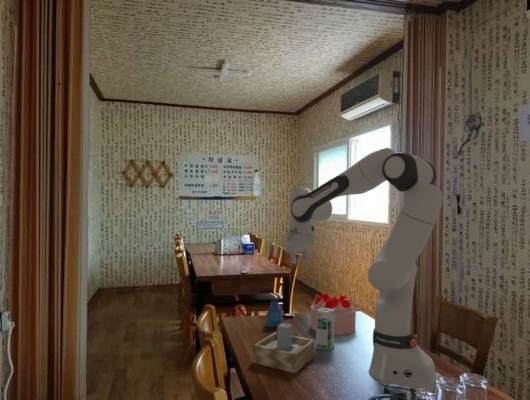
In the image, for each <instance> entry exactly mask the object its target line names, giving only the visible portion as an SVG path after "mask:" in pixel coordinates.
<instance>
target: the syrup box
mask: <svg viewBox="0 0 530 400" xmlns="http://www.w3.org/2000/svg"><path fill="white" fill-rule="evenodd" d="M334 331H335V309H328V308H319V309H318V310H317V325H316V332H315V333H316V334H315V338H316V339H315V349H320V350H326V351H328V352H329V351H331V350H332V349H333V348H334V347H335V336H334Z"/></svg>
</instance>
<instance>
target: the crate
mask: <svg viewBox="0 0 530 400" xmlns="http://www.w3.org/2000/svg"><path fill="white" fill-rule="evenodd" d="M315 345H316V339H311V338H307V337H301V336H297V335H293V334H292V351H290V352H287V351H283V350H278V349H277V331H274V332H273V333H271V334H269V335H268V336H266V337H265V338H263V339H261V340H260V341H258V342H255V344H253V350H252V351H253V353H252V355H253V356H252V359H253V361H252V362H253V363H254V364H258V365H260V366H261V365H262V366H265V367H270V368H273V369H278V370H281V371H284V372H289V373H293V374H297V373H298V372H299V371H300V370H301V369H302V368H303V367H305V365H306V364H308V363H309V362H310V361H311V360H312V359H313V358H315Z"/></svg>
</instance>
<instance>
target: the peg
mask: <svg viewBox="0 0 530 400" xmlns="http://www.w3.org/2000/svg"><path fill="white" fill-rule="evenodd" d="M293 328H294V327H293V324H289V323H284V322H282V324H280V325H278V326H277V328H276V332H277V349H278V350H283V351H287V352H290V351H292V335H293Z"/></svg>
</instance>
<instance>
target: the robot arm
mask: <svg viewBox="0 0 530 400" xmlns="http://www.w3.org/2000/svg"><path fill="white" fill-rule="evenodd" d="M436 180H437V171H436V169H435V167H434V166H433V164H432V163H430V161H428V160H425V159H423V158H421V157H420V156H418V155H415V154H411V153H408V152H403V151H402V152H401V151H398V152H396V151H394V150H393V149H391V148H390V147H385V146H384V147H380V148H378V149H376V150H375V151H372V152H370V153H368V154H367V155H366V156H364V157H363V158H361V159H360V160H358V161H357V162H355V163H354V164H353V165H351V166H350V167H349V168H347V169H345V170H344V171H343V172H341V173H340V174H337V175H336V176H335V177H332V178H331V179H329V180H327V181H326V182H324V183H323V184H321V185H319V186H318V187H317V188H315V189H313V190H311V188H307V187H300V188H295V189H293V190H292V191H291V192H290V197H289V215H290V216H289V219H288V231H287V233H286V236H285V243H284V252H285V253H289V256H290V258H291V260H290V261H291V264H297V263H298V258H297V256H296V255H297V253H298V252H301V253H302V254H301V256H300V258H301V259H300V260H301V261H302V262H303V261H304V262H305V261H307V256H308V253H309V250H311V249H313V246H314V232H315V228H316V227H315V226H314V225H313V224H312V222H322V221H325V220H328V219H329V218H330V217H331V216H332V213H333V205H332V202H331V201H332V200H334V199H336V198H338V197H344V196H350V195H352V196H353V195H362V194H365V193H367V192H370V191H371V190H374V189H376V188H377V187H378V186H380V185H381V184H383V183H384V182H386V181H387V182H388V183H389V184H391V186H393V187H394V188H396V190H397V191H399V192H404V200H403V203H402V206H401V208H400V210H399V212H398V215H397V217H396V220H394V221H395V222H394V223H393V226H392V229H391V231H390V233H389V234H388V237H387V238H386V240H385V242H384V243H383V244H382V246H381V248H380V250H379V252H378V253H377V255H376V256H375V259H374V261H373V262H372V264H371V265H370V266H369V268H368V270H367V278H368V282H369V283H370V285H371V286H372V287H373V288H374V289H375V290H377V291H378V297H377V299H376V302H375V306H374V328H373V332H372V344H373V345H372V346H373V349H372V358H371V362H370V365H369V369H368V373H369V375H370V376H371V377H372V378H375V379H376V380H377V381H379V382H380V383H381V385H382V386H385V385H389V384H396V385H403V386H408V387H410V388H413V389H418V388H425V389H429V390H434V388H435V382H436V379H437V378H438V377H442V378H443V376H442V375H441V374H440V373H438V372H437V371H436V366H435V362H434V360H433V359H432V358H431V356H430V355H428V353H426V352H425V351H424V350H423V349H421V347H420V346H418V335H417V334H414V333H412V332H411V321H412V320H411V319H412V318H411V316H412V303H413V298H414V297H413V296H414V293H415V292H414V290H415V283H416V276H417V273H418V266H417V263H416V261H417V260H418V258H419V256H420V255H421V253H422V252H423V250H424V248H425V247H426V244H427V242H428V240H429V238H430V236H431V234H432V231H433V229H434V227H435V224H436V223H437V220H438V217H439V214H440V212H441V207H442V204H443V199H444V194H443V191H442V190H441V189H440V188H439V187H437V186H435V185H434V184H435V182H436Z"/></svg>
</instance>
